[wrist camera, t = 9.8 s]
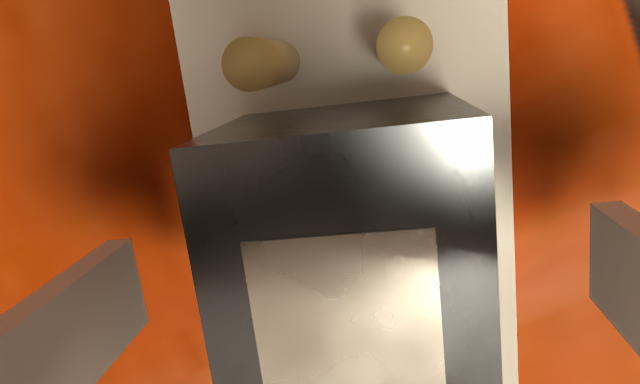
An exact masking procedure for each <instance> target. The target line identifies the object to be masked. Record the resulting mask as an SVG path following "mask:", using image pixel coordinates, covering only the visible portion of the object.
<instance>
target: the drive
mask: <svg viewBox="0 0 640 384" xmlns="http://www.w3.org/2000/svg"><path fill="white" fill-rule="evenodd" d="M169 154H170V159H171V164H172V170H173V175H174V180H175V185H176V191H177V196H178V201H179V207H180V212H181V217H182V222H183V228H184V233H185V238H186V244H187V249H188V254H189V260H190V265H191V270H192V275H193V281H194V286H195V291H196V297H197V302H198V307H199V313H200V318H201V323H202V328H203V334H204V339H205V344H206V350H207V355H208V360H209V366H210V371H211V376H212V381H213V384H503V379H502V354H501V328H500V303H499V278H498V252H497V227H496V202H495V176H494V151H493V126H492V115H490V114H488V113H486V112H484V111H482V110H481V109H479V108H477V107H475V106H473V105H471V104H470V103H468V102H466V101H464V100H462V99H460V98H459V97H457V96H455V95H453V94H451V93H449V92H446V93H437V94H428V95H419V96H410V97H401V98H392V99H383V100H374V101H365V102H356V103H346V104H337V105H328V106H319V107H310V108H301V109H292V110H283V111H274V112H265V113H256V114H247V115H243V116H241V117H239V118H237V119H235V120H232V121H230V122H228V123H226V124H223V125H221V126H219V127H217V128H215V129H212V130H210V131H208V132H206V133H203V134H201V135H199V136H197V137H195V138H192V139H190V140H188V141H186V142H183V143H181V144H179V145H177V146H174V147H172V148H170V149H169Z"/></svg>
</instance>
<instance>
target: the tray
mask: <svg viewBox="0 0 640 384" xmlns="http://www.w3.org/2000/svg"><path fill="white" fill-rule="evenodd" d="M169 5H170V10H171V16H172V22H173V27H174V33H175V39H176V45H177V50H178V56H179V62H180V68H181V73H182V79H183V85H184V91H185V96H186V102H187V108H188V113H189V119H190V125H191V131H192V136H193V138H195V137H197V136H199V135H201V134H203V133H206V132H208V131H210V130H212V129H215V128H217V127H219V126H221V125H223V124H226V123H228V122H230V121H232V120H235V119H237V118H239V117H241V116H243V115H247V114H256V113H265V112H274V111H283V110H292V109H301V108H310V107H319V106H328V105H337V104H346V103H356V102H365V101H374V100H383V99H392V98H401V97H410V96H419V95H428V94H437V93H446V92H449V93H451V94H453V95H455V96H457V97H459V98H460V99H462V100H464V101H466V102H468V103H470V104H471V105H473V106H475V107H477V108H479V109H481V110H482V111H484V112H486V113H488V114H490V115H492V126H493V151H494V176H495V202H496V227H497V252H498V278H499V303H500V328H501V354H502V379H503V384H518V355H517V320H516V285H515V250H514V216H513V181H512V146H511V112H510V77H509V42H508V7H507V0H169Z"/></svg>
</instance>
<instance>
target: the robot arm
mask: <svg viewBox="0 0 640 384" xmlns="http://www.w3.org/2000/svg"><path fill="white" fill-rule="evenodd" d="M589 297H590V298H591V300H592V301H593V302H594V303H595V304H596V305H597V307H598V308H599V309H600V310H601V311H602V313H603V314H604V315H605V316H606V317H607V319H608V320H609V321H610V322H611V323H612V325H613V326H614V327H615V328H616V329H617V330H618V332H619V333H620V334H621V335H622V336H623V338H624V339H625V340H626V341H627V342H628V344H629V345H630V346H631V347H632V348H633V349H634V351H635V352H636V353H637V354H638V355H639V357H640V213H639V212H638V211H636V210H635V209H633V208H631V207H630V206H628V205H627V204H625V203H623V202H622V201H614V202H601V203H591V210H590V291H589ZM148 321H149V320H148V315H147V311H146V306H145V301H144V297H143V292H142V288H141V283H140V279H139V274H138V270H137V265H136V260H135V256H134V251H133V247H132V242H131V239H120V240H107V241H106V242H104V243H103V244H101V245H100V246H99V247H97V248H96V249H94V250H93V251H92V252H90V253H89V254H87V255H86V256H84V257H83V258H82V259H80V260H79V261H77V262H76V263H75V264H73V265H72V266H70V267H69V268H67V269H66V270H65V271H63V272H62V273H60V274H59V275H58V276H56V277H55V278H53V279H52V280H50V281H49V282H48V283H46V284H45V285H43V286H42V287H41V288H39V289H38V290H36V291H35V292H33V293H32V294H31V295H29V296H28V297H26V298H25V299H24V300H22V301H21V302H19V303H18V304H16V305H15V306H14V307H12V308H11V309H9V310H8V311H7V312H5V313H4V314H2V315H1V316H0V384H96V383H97V382H98V380H99V379H100V378H101V377H102V376H103V375H104V373H105V372H106V371H107V370H108V369H109V367H110V366H111V365H112V364H113V363H114V362H115V360H116V359H117V358H118V357H119V356H120V354H121V353H122V352H123V351H124V350H125V349H126V347H127V346H128V345H129V344H130V343H131V341H132V340H133V339H134V338H135V337H136V336H137V334H138V333H139V332H140V331H141V330H142V328H143V327H144V326H145V325H146V324H147V323H148Z"/></svg>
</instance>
